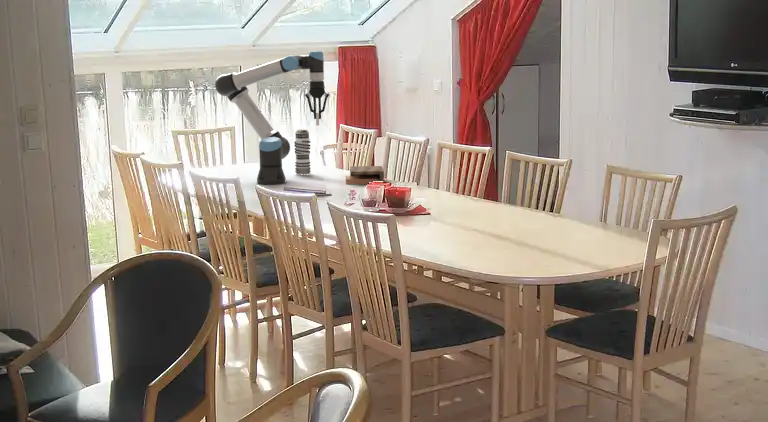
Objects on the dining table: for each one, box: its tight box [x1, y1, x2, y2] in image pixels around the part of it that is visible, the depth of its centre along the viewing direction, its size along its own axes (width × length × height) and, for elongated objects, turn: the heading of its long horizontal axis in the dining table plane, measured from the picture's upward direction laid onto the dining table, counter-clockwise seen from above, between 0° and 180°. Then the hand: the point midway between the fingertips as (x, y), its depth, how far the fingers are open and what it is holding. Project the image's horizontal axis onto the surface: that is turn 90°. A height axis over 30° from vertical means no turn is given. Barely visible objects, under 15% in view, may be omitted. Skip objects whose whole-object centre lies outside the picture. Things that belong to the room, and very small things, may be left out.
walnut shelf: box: [349, 165, 385, 182], centre depth 505 cm, size 17×20×7 cm
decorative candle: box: [293, 129, 312, 176], centre depth 533 cm, size 9×9×25 cm
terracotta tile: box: [345, 175, 377, 185], centre depth 505 cm, size 16×11×3 cm
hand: (317, 125), depth 510 cm, fingers closed
